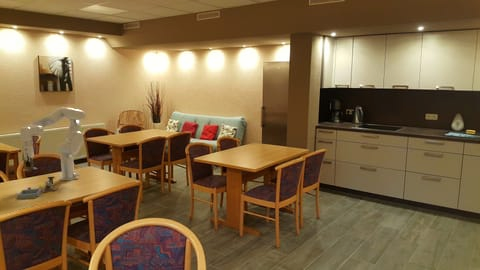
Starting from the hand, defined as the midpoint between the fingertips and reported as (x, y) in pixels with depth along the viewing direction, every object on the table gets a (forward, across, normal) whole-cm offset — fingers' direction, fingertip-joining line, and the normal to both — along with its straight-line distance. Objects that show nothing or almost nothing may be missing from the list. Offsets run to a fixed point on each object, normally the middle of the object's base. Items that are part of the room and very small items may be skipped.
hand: (29, 165), depth 271 cm
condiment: (+3, 0, 0) cm, 4 cm away
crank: (+16, -4, -14) cm, 22 cm away
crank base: (+18, -9, -9) cm, 22 cm away
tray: (+18, -19, -3) cm, 27 cm away
